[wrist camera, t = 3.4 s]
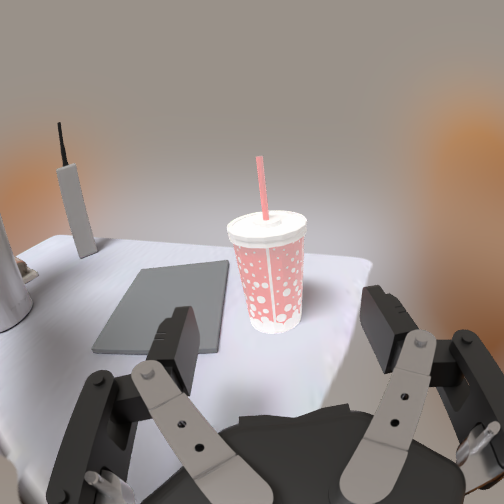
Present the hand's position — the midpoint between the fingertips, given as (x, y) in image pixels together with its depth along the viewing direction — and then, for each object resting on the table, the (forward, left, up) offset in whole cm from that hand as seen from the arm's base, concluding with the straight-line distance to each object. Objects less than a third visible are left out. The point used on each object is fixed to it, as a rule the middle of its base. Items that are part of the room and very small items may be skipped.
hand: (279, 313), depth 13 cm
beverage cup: (0, +10, -8) cm, 13 cm away
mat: (-11, +14, -8) cm, 20 cm away
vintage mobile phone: (-33, +33, -8) cm, 47 cm away
